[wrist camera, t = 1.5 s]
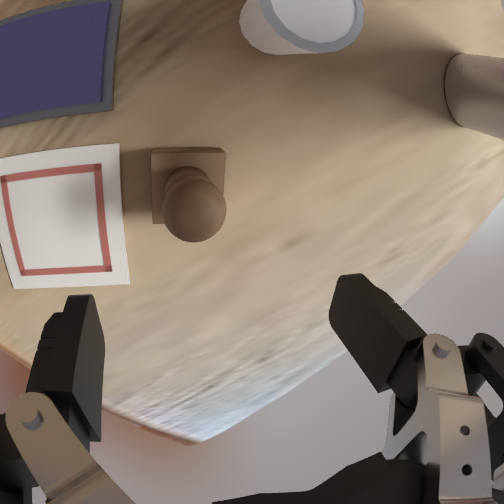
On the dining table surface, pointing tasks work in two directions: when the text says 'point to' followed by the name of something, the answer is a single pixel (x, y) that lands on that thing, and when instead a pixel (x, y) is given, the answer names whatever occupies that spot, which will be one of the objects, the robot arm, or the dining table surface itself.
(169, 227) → the stamp
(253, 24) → the shot glass
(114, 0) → the ink pad
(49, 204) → the print card
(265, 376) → the dining table surface
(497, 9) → the dining table surface
